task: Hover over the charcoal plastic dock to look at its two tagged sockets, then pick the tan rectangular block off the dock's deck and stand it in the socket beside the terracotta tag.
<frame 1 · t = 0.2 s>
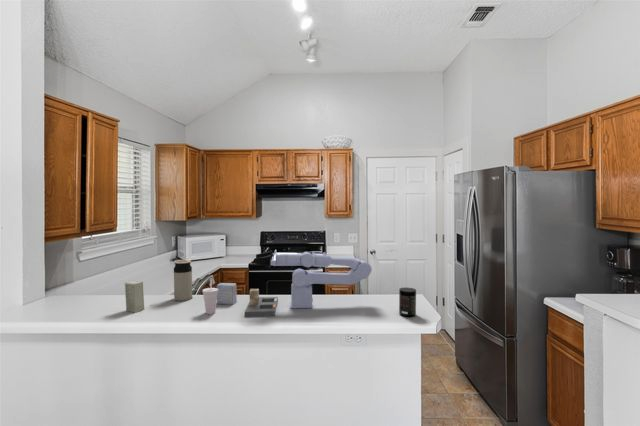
hand: (255, 258, 152), 21 cm above the countertop, tool horizontal, fingers open, 7 cm apart
supplement container: (407, 315, 142), on the countertop
travel mug: (183, 299, 165), on the countertop
medicine box: (226, 303, 158), on the countertop
tan rectangular block: (254, 303, 150), point 2 cm above the countertop, touching dock
skincare box: (134, 310, 148), on the countertop
dock: (262, 308, 150), on the countertop
smoothie: (210, 313, 145), on the countertop
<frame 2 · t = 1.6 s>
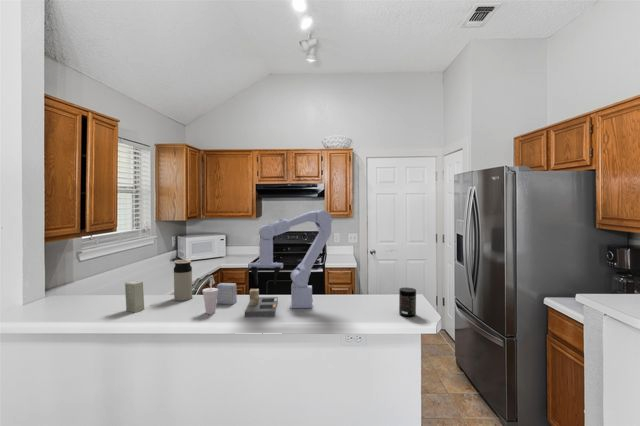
hand: (265, 284, 149), 10 cm above the countertop, tool pointing down, fingers open, 7 cm apart
nothing on the countertop moved.
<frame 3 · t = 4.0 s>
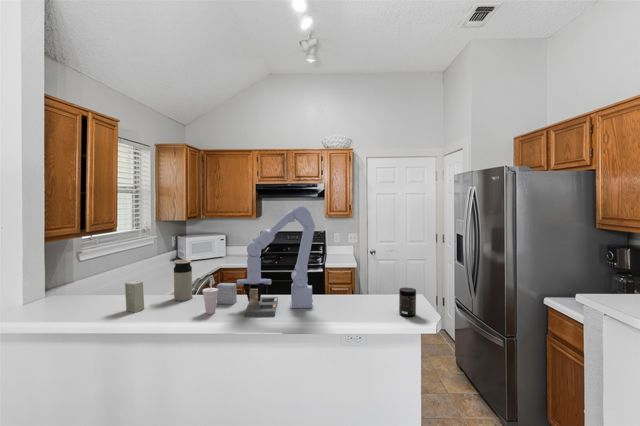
hand: (254, 300, 150), 3 cm above the countertop, tool pointing down, fingers closed on tan rectangular block, 3 cm apart
tan rectangular block: (254, 303, 150), point 2 cm above the countertop, touching dock, gripper
everything else where it was.
when the fingers open (3 cm above the countertop, at t = 7.0 s): tan rectangular block drops 1 cm, resting in dock.
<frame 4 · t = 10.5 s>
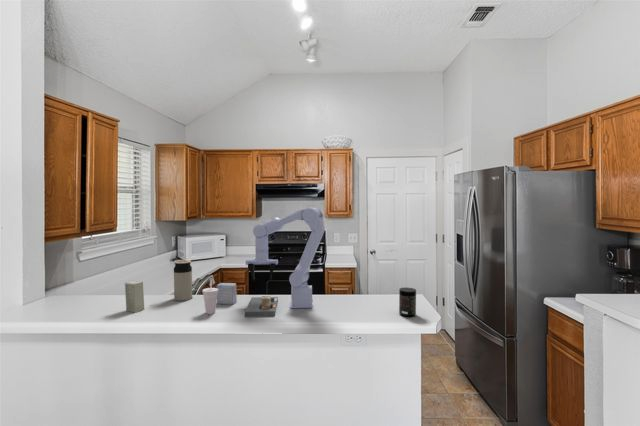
hand: (262, 280, 158), 10 cm above the countertop, tool pointing down, fingers open, 7 cm apart
tan rectangular block: (266, 311, 146), resting in dock
everything else where it was.
at the end: tan rectangular block 0.0 cm from the target spot on the dock, point 0.0 cm above the dock's base; tan rectangular block tilted 0°; the gripper is holding nothing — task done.
